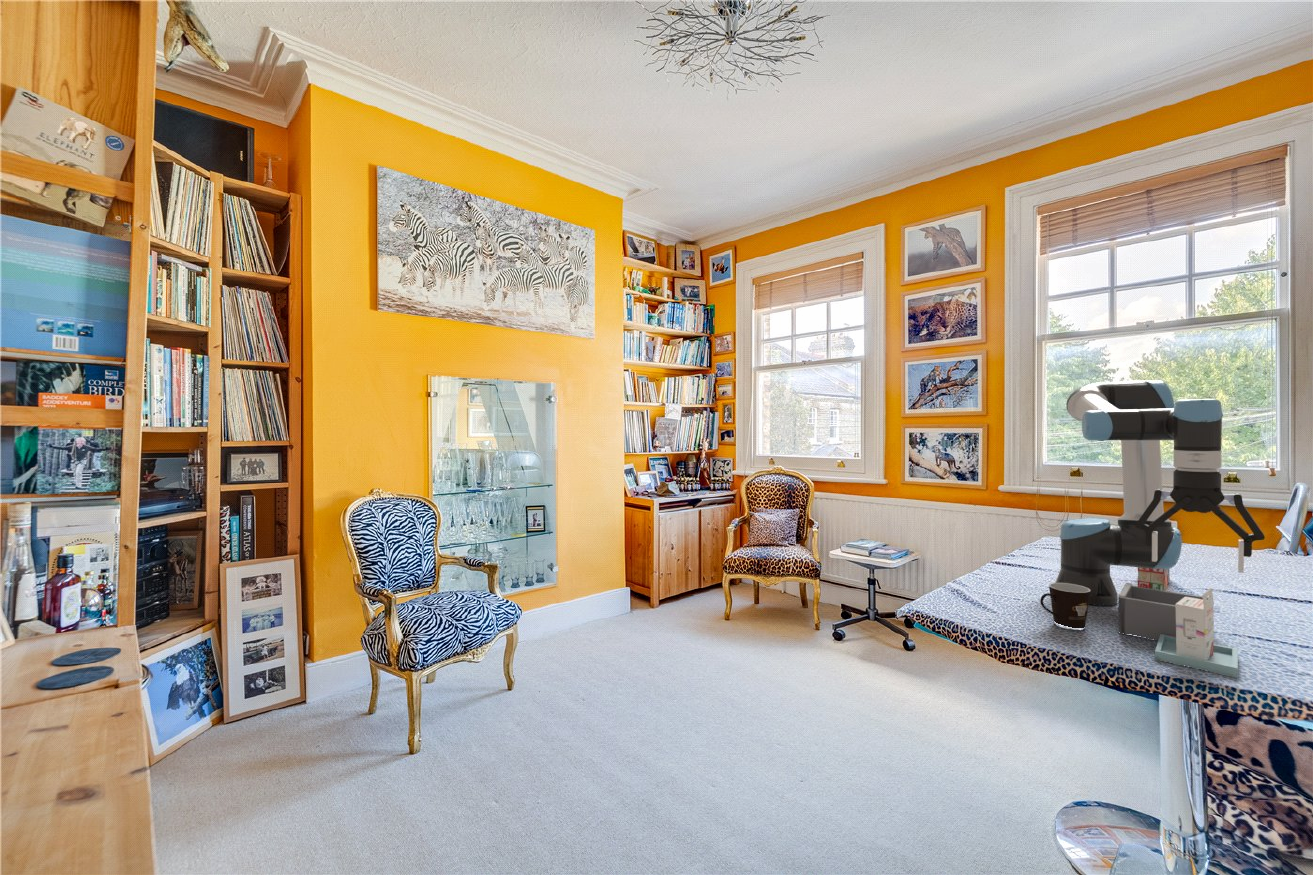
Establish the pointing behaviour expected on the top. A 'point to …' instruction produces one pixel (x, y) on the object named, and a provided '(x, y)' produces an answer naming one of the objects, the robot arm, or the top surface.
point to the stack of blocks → (1153, 578)
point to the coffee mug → (1068, 604)
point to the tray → (1219, 661)
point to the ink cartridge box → (1195, 626)
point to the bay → (1148, 611)
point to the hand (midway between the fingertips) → (1196, 565)
